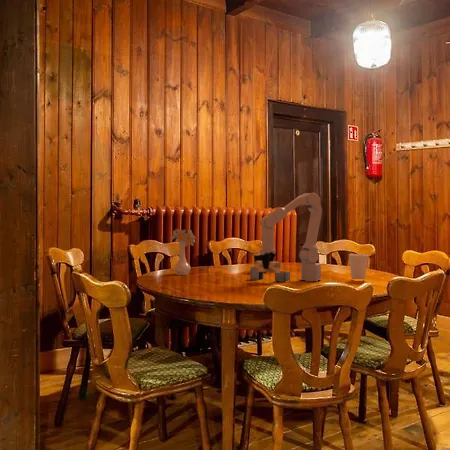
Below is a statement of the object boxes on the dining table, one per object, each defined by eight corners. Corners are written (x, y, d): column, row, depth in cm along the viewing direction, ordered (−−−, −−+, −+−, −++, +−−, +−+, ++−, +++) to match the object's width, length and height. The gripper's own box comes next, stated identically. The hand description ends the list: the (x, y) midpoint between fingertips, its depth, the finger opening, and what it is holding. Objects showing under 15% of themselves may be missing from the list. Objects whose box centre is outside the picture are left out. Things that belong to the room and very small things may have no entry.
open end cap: (289, 280, 239) (290, 271, 239) (284, 282, 233) (285, 273, 233) (279, 280, 242) (279, 271, 242) (274, 281, 236) (274, 272, 236)
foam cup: (363, 282, 234) (363, 256, 234) (345, 280, 240) (345, 255, 240) (370, 280, 242) (370, 254, 242) (353, 278, 248) (353, 253, 247)
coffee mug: (251, 272, 269) (251, 255, 269) (257, 271, 277) (257, 254, 277) (270, 274, 264) (270, 256, 264) (275, 272, 272) (276, 254, 271)
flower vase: (183, 277, 251) (183, 229, 250) (164, 273, 264) (164, 228, 264) (203, 275, 259) (203, 229, 258) (183, 271, 273) (183, 228, 272)
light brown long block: (280, 272, 233) (280, 261, 233) (277, 272, 230) (277, 262, 230) (257, 270, 239) (257, 260, 239) (254, 271, 236) (254, 261, 236)
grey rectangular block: (263, 278, 246) (263, 266, 246) (257, 280, 240) (257, 267, 240) (255, 278, 248) (255, 265, 248) (250, 279, 242) (250, 267, 242)
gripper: (266, 239, 242) (266, 266, 243) (254, 241, 229) (254, 269, 230) (279, 240, 239) (279, 267, 239) (267, 241, 226) (267, 270, 226)
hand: (267, 268), depth 234 cm, fingers closed on light brown long block, 3 cm apart
